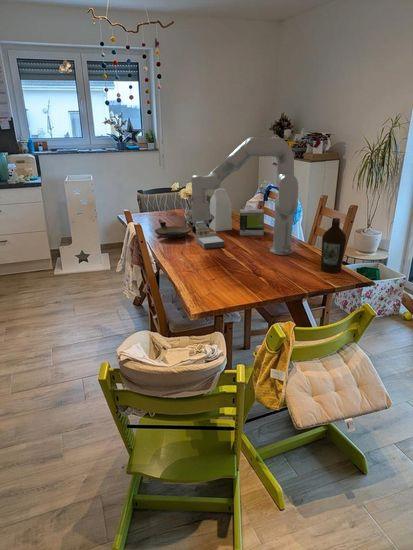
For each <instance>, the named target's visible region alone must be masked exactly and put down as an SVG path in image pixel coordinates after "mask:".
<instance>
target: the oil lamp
mask: <svg viewBox="0 0 413 550" xmlns="http://www.w3.org/2000/svg"><path fill="white" fill-rule="evenodd" d="M158 222H159V225H160V227H158V228H156V229H155V230H154V232H155V234H156V235H158V236H159V237H160V236H161V237H163V238H167V239H175V238H177V239H178V238H180V237H183V236H185V235H188V234H189V233H190V232H192V227H189V226H182V225H181V226H175V225H173V226H169V225H168V226H167V222H166V221H163V220H162V218H159V219H158Z"/></svg>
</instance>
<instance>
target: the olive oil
mask: <svg viewBox="0 0 413 550" xmlns="http://www.w3.org/2000/svg"><path fill="white" fill-rule="evenodd" d="M340 223H341V218H339V217H333V218H332V221H331V227H329V228H328V229H327V230H326V231H325V232H324V233H323V235H322V239H321V261H320V271H322V272H323V273H329V274H338V273H340V272H341V271H342V266H343V259H344V256H345V255H344V254H345V249H346V242H347V236H346V233H345V232H344V231H343V230H342V229H341V227H340V225H341V224H340Z"/></svg>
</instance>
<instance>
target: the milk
mask: <svg viewBox="0 0 413 550" xmlns="http://www.w3.org/2000/svg"><path fill="white" fill-rule="evenodd" d="M210 197H211V199H210V213H211V214H212V215H213V216H214V217H215V218H214V219H213V220H212V222H211V223H210V225H209V229H210V230H213V232H221V231H222V232H223V231H231V230H233V221H232V219H233V218H232V201H231V199H230V196H229V195H228V193H227V190H226V188H218V189H216V190H214V192H213V195H212V196H210Z"/></svg>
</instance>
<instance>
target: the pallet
mask: <svg viewBox="0 0 413 550" xmlns="http://www.w3.org/2000/svg"><path fill="white" fill-rule="evenodd" d="M195 227H196V226H195ZM210 230H211V228H208V227H207V226H206V228H199V229H198V228H197V227H196V234H194V236H196V238H197V237H200V235H202V236H205V234H206V235H207V236H210V232H211V231H210Z"/></svg>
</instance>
